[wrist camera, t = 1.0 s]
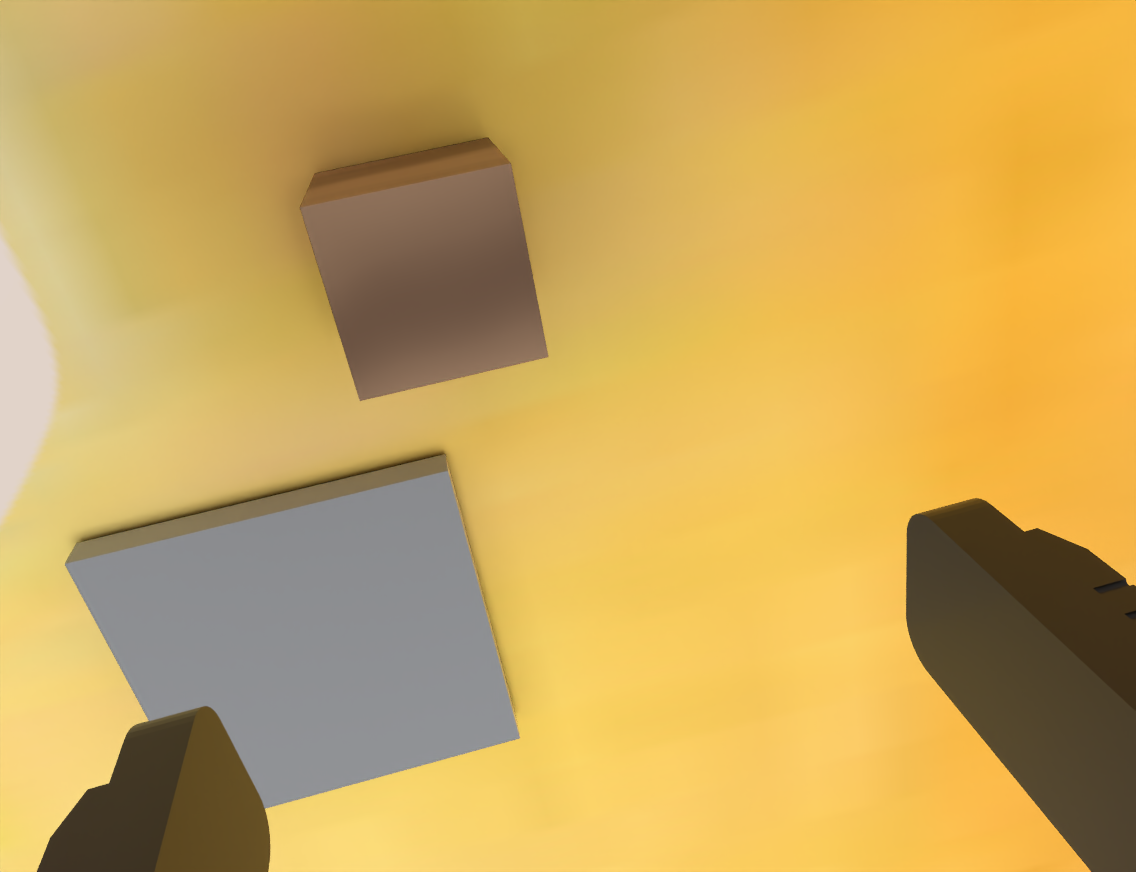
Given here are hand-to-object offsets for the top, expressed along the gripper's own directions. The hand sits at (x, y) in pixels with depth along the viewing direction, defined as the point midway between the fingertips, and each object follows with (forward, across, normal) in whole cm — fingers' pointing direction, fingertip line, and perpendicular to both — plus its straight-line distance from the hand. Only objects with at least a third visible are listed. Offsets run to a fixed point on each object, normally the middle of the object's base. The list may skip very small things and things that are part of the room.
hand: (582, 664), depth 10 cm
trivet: (+18, +8, +12) cm, 23 cm away
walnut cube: (+18, +1, -1) cm, 19 cm away
